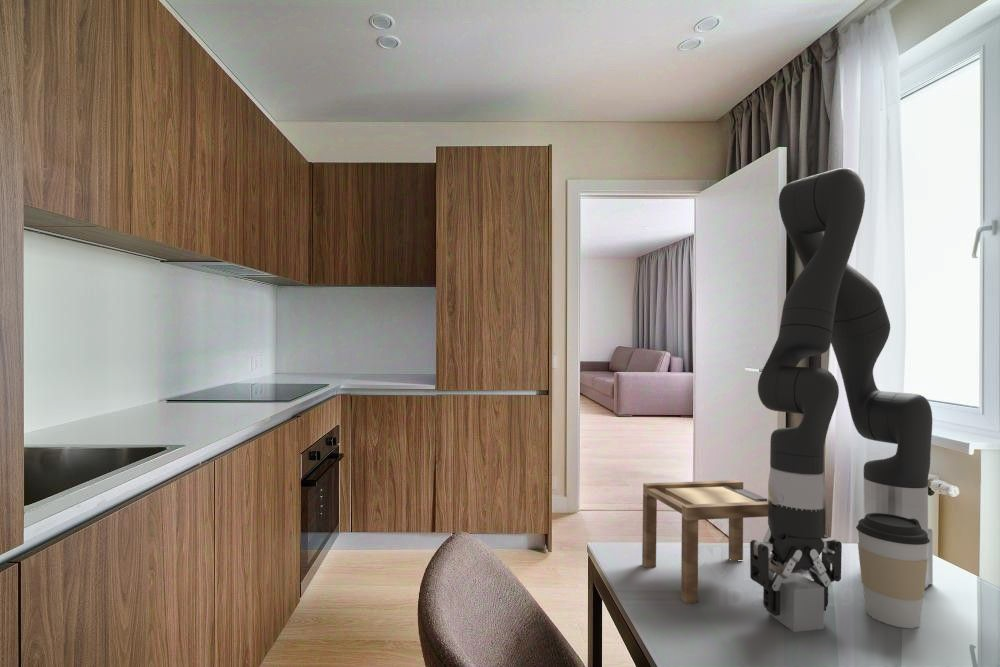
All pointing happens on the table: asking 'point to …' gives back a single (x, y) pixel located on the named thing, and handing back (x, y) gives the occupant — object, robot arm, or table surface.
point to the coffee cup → (893, 568)
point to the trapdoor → (712, 495)
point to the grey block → (801, 603)
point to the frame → (695, 527)
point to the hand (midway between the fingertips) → (795, 610)
